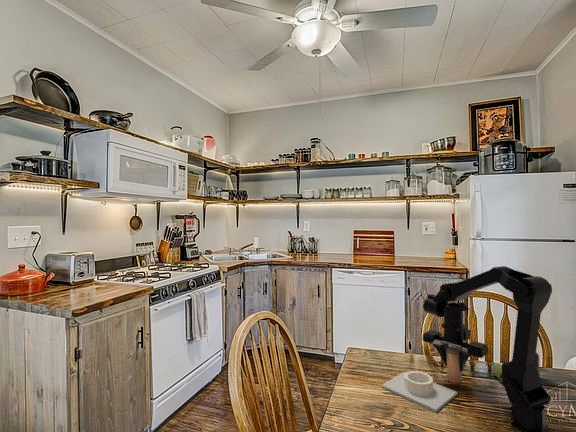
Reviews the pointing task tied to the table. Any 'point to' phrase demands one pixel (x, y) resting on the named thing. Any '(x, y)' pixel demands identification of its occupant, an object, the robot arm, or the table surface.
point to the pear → (497, 371)
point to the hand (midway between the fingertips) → (454, 368)
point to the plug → (453, 365)
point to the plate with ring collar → (420, 390)
